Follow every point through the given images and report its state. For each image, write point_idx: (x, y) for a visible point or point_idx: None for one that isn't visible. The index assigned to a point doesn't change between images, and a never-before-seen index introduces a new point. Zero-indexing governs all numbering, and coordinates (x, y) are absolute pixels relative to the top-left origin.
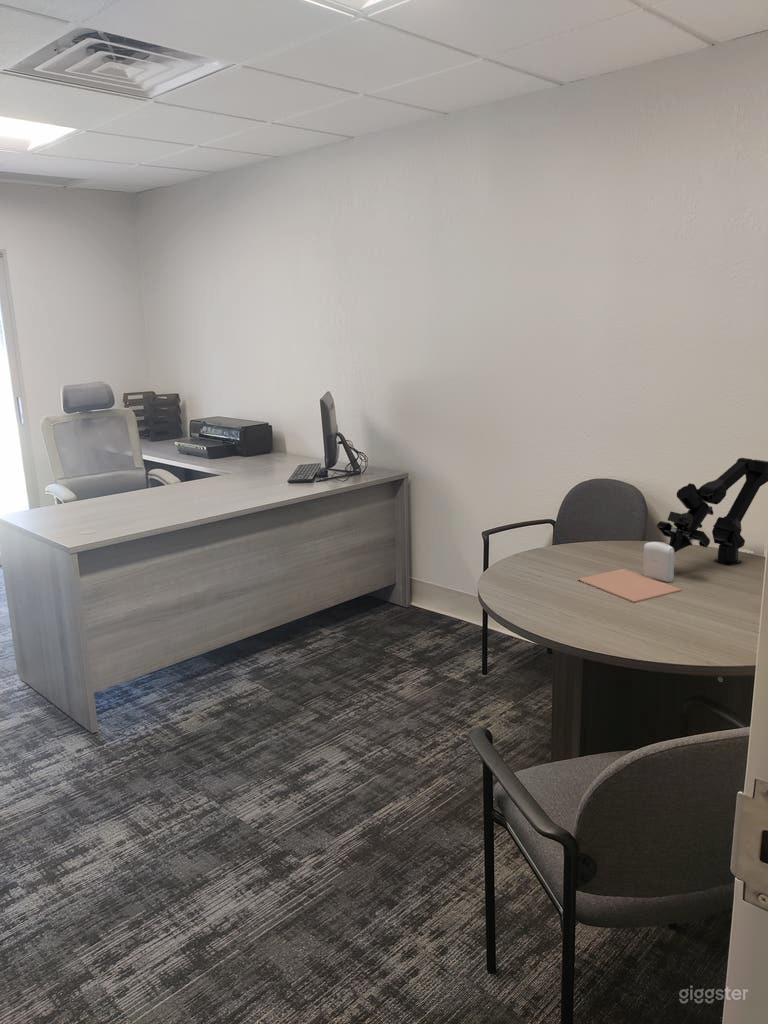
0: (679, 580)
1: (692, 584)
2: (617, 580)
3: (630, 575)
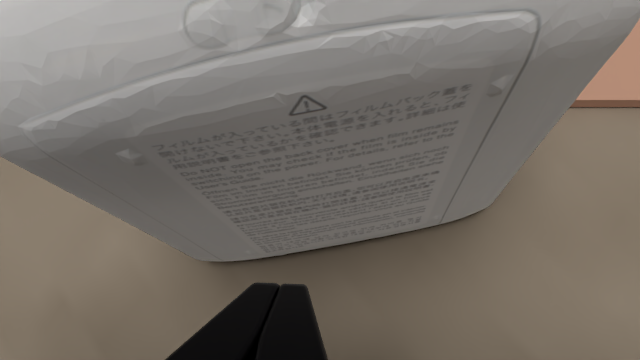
0: (167, 309)
1: (19, 310)
2: None
3: None
